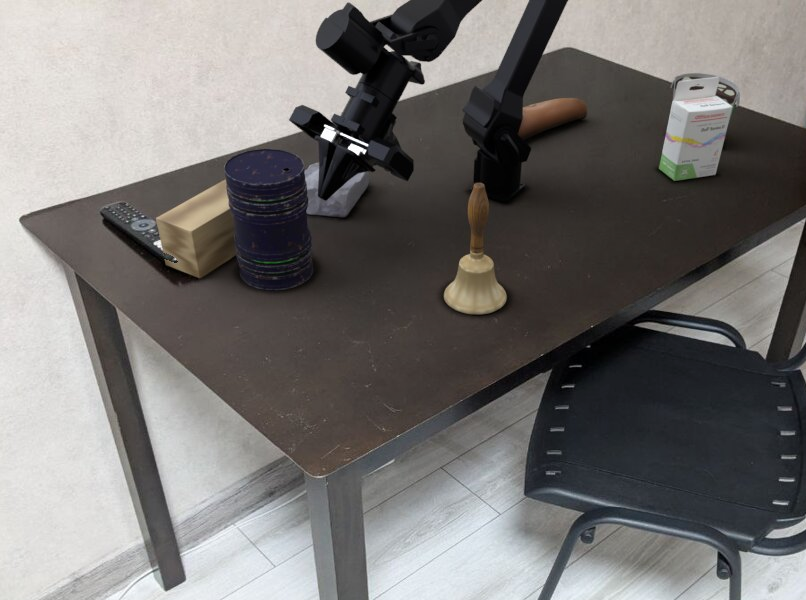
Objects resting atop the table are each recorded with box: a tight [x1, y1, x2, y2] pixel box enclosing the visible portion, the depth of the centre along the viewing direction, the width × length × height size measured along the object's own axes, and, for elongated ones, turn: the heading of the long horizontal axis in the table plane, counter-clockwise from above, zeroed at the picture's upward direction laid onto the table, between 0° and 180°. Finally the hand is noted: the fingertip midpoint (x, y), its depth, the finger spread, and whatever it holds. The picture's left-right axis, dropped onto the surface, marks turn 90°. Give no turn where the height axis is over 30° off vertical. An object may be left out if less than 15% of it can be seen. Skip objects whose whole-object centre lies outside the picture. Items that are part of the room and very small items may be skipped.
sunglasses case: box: [518, 97, 588, 141], centre depth 160 cm, size 18×7×7 cm
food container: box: [670, 72, 741, 121], centre depth 159 cm, size 12×6×10 cm, turn 58°
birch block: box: [155, 178, 237, 279], centre depth 123 cm, size 6×14×7 cm, turn 151°
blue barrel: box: [223, 148, 314, 291], centre depth 117 cm, size 10×10×15 cm
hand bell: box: [443, 183, 508, 316], centre depth 115 cm, size 8×8×16 cm
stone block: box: [304, 162, 371, 218], centre depth 137 cm, size 12×5×10 cm
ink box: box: [658, 77, 732, 182], centre depth 146 cm, size 9×5×15 cm, turn 114°
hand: (321, 198), depth 122 cm, fingers closed
